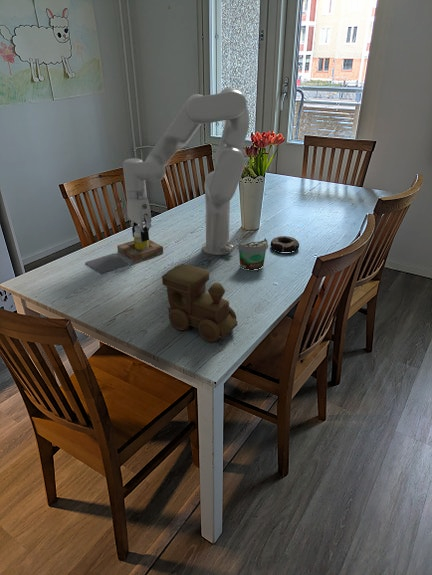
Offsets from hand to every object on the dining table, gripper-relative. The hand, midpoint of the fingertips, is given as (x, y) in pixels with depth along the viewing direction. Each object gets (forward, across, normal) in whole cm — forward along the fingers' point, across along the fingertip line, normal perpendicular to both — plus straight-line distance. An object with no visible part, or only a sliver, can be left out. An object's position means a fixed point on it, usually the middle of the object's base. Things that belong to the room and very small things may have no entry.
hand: (140, 238), depth 163 cm
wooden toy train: (+7, -55, +15) cm, 57 cm away
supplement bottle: (+5, 0, 0) cm, 5 cm away
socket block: (+7, +1, 0) cm, 7 cm away
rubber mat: (+6, +1, +15) cm, 17 cm away
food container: (+7, -39, -24) cm, 47 cm away
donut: (+8, -35, -46) cm, 59 cm away
